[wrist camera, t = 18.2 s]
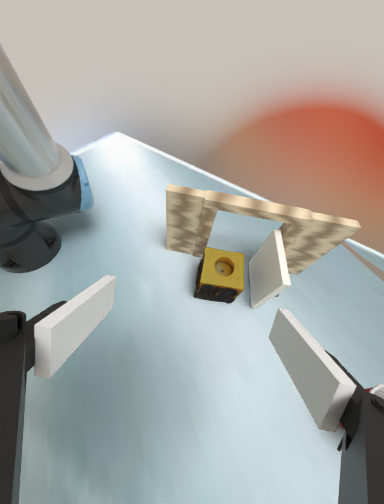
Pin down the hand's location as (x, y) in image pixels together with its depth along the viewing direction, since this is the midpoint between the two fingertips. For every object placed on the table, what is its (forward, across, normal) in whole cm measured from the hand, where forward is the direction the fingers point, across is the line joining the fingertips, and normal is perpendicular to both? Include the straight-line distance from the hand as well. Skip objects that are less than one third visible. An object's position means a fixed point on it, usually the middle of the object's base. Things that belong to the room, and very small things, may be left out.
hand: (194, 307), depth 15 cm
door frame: (+42, +12, -5) cm, 43 cm away
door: (+36, +18, -9) cm, 41 cm away
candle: (+35, +7, -11) cm, 38 cm away
